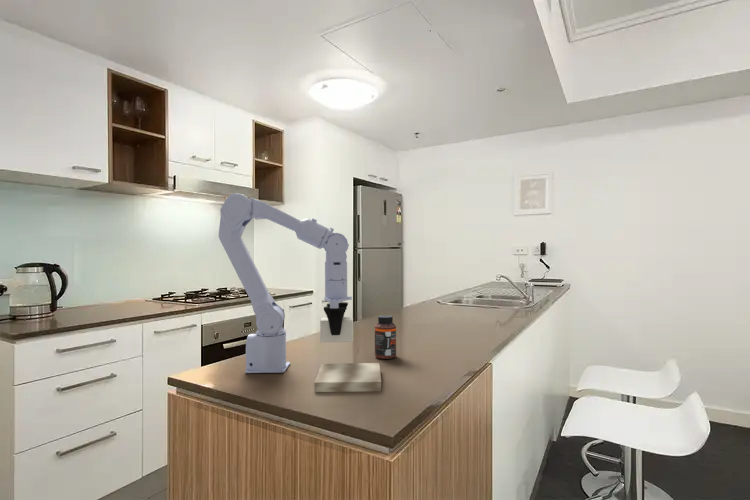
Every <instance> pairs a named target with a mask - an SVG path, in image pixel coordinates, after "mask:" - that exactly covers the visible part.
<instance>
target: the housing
mask: <svg viewBox="0 0 750 500" xmlns="http://www.w3.org/2000/svg"><path fill="white" fill-rule="evenodd" d="M353 317H354V316H344V317H343V320H342V326H341V332H340V335H331V331H330V326H329V321H328V318H327V316H321V319H320V322H319V328H320V329H319V330H320V334H319V337H320V343H353V340H354V318H353Z"/></svg>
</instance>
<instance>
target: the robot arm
mask: <svg viewBox="0 0 750 500" xmlns="http://www.w3.org/2000/svg"><path fill="white" fill-rule="evenodd" d="M219 212H220V218H219V228H218V230H219V231H218V239H219V241H220V243H221V245H222V247H223V250H224V251H225V253H226V254H227V257H228V259H229V261H230V263H231V265H232V267H233V268H234V270H235V272H236V275H237V277H238V278H239V280H240V283H241V284H242V286H243V288H244V290H245V292H246V294H247V297H248V298H249V300H250V303H251V306H252V311H253V313H254V315H255V319H256V320H255V324H256V328H257V330H256V331H255V333H249V334H248V335H247V337H246V341H245V342H246V343H245V370H244V371H245V372H244V373H245V374H272V373H273V374H275V373H277V374H279V373H280V374H283V373H285V372H286V370H287V369H288V368H289V366H290V365H291V362H290V361H287V331H286V329H285V328H284V326H283V325H284V321H285V317H286V316H285V315H286V314H285V311H284V309H283V308H282V307H281V305H278V304H277V302H276V301H275V299H274V298H273V296H272V295H271V293H270V292H269V290H268V288H267V286H266V284H265V282H264V280H263V278H262V276H261V274H260V271H259V270H258V268H257V265H256V264H255V263H254V260H253V258H252V257H251V254H250V251H248V248H247V246H246V244H245V242H244V240H243V238H242V236H243V234H244V232H245V231H244V230H245V229H246V228H247V227H246V226H247V225H248V224H249V223H250V222H251V220H252V219H254V220H269V221H271V222H273V223H274V224H278V225H280V226H282V227H285V228H286V229H289V230H291V231H294V232H295V235H296V238H297V239H298V240H300V241H302V242H305V243H306V244H308V245H311V246H312V247H314V248H317V249H318V250H322V249H323V250H324V251H325V262H324V298H323V299H324V301H325V302H327V304H326V306H324V307H323V311H324V313H325V315H326V317H327V318H328V321H329V326H330V331H331V335H340V332H341V326H342V320H343V317H345V313H346V311H347V307H348V305H349V302H348V301H349V300H351V301H352V299H353V296H352V295H351V296H349V295H348V262H347V258H348V255H347V252H348V249H349V247H350V246H349V245H350V244H349V242H348V239H347V237H346V236H345V235H344V234H342V233H339V232H334V230H335V229H334V228H332V227H330V228H328V227H326V226H324V225H323V224H321V223H318V222H317V221H318V220H317V219H315V218H311V219H310V218H305V219H302V220H300V219H297V218H296V217H294V216H292V215H290V214H288V213H286V212H284V211H283V210H280V209H278V208H277V207H276V206H275V207H274V206H272V205H271V204H268V203H267V202H264V201H262V200H259V199H256V198H254V197H249V198H248V196H246V195H245V194H242V193H232V194H230V195H229V196H227V197H226V199H225V200H224V201H223V204H222V206H221V208H220V211H219ZM346 301H347V302H346Z"/></svg>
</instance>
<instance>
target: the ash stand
mask: <svg viewBox="0 0 750 500" xmlns="http://www.w3.org/2000/svg"><path fill="white" fill-rule="evenodd" d="M320 365H321V366H320V367H319V370H318V372H317V375H316V378H315V379H314V384H313V385H314V386H313V387H314V388H313V389H314V393H341V392H342V393H344V392H346V393H348V392H350V393H351V392H355V393H357V392H382V378H381V377H382V376H381V375H382V374H381V366H380V363H379V362H360V363H359V362H357V363H355V362H351V363H349V362H346V363H345V362H344V363H341V362H339V363H321V364H320Z"/></svg>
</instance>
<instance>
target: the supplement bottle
mask: <svg viewBox="0 0 750 500" xmlns="http://www.w3.org/2000/svg"><path fill="white" fill-rule="evenodd" d="M393 319H394V318H393V315H391V314H390V315H389V314H388V315H387V314H381V315H378V316H377V321H378V322H377V323H376V324H375V325H374V357H375V358H376V359H380V360H391V359H392V360H393V359H394V358H396V357H397V326H396V324H395V323H394V322H393V321H394V320H393Z"/></svg>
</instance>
